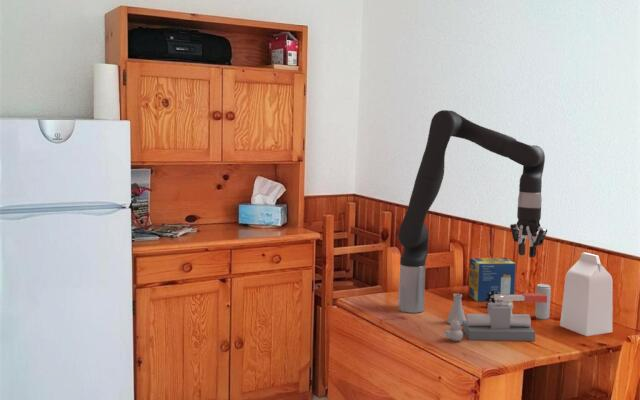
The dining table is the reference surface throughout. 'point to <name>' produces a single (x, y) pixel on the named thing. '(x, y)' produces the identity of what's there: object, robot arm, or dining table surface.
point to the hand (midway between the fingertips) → (527, 255)
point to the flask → (457, 310)
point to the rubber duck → (454, 331)
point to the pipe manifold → (499, 325)
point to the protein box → (491, 277)
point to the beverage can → (543, 308)
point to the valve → (496, 301)
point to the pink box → (522, 297)
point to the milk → (587, 297)
